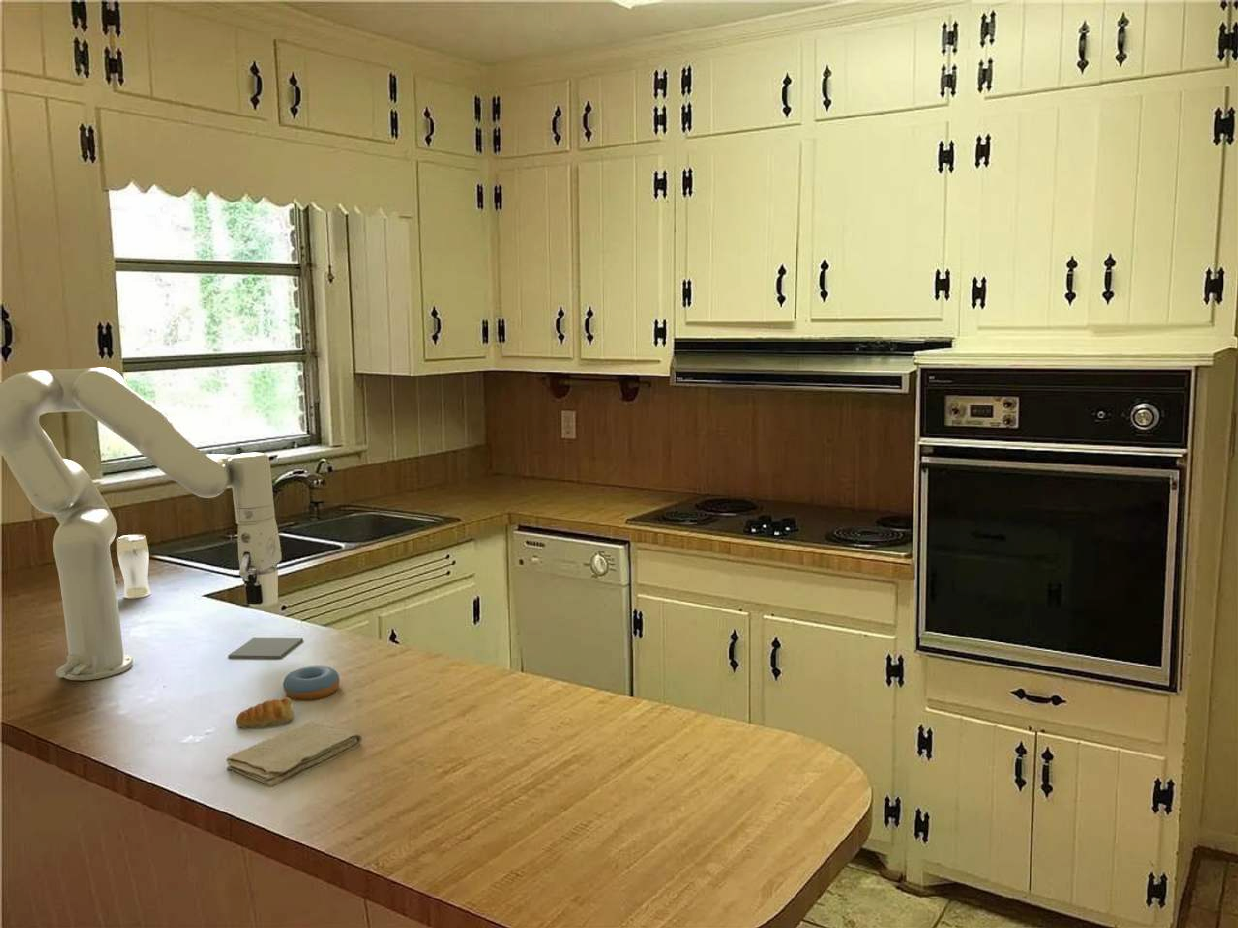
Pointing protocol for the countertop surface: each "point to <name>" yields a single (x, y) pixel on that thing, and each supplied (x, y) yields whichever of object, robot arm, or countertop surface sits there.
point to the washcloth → (291, 753)
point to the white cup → (268, 587)
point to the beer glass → (134, 565)
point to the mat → (266, 648)
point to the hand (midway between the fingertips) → (263, 597)
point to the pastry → (267, 714)
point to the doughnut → (311, 682)
